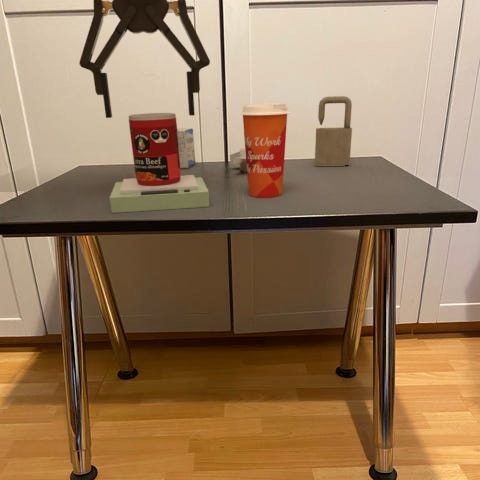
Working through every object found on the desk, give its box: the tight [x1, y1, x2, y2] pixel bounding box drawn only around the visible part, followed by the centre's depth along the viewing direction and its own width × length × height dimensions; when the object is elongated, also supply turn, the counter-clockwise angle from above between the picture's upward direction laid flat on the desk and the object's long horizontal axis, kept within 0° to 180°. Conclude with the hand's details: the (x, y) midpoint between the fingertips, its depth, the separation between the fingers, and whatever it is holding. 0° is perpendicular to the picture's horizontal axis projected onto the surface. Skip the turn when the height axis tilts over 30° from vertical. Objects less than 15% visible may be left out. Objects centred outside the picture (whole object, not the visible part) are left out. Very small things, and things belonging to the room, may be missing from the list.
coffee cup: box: [240, 103, 291, 199], centre depth 84 cm, size 8×8×15 cm
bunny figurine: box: [229, 147, 247, 173], centre depth 111 cm, size 10×5×15 cm
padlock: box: [314, 95, 353, 167], centre depth 112 cm, size 4×8×15 cm, turn 82°
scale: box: [109, 174, 210, 214], centre depth 85 cm, size 16×14×3 cm
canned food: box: [128, 112, 182, 186], centre depth 82 cm, size 8×8×11 cm
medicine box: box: [177, 127, 196, 170], centre depth 119 cm, size 8×4×9 cm, turn 171°
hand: (150, 116), depth 80 cm, fingers open, 13 cm apart
